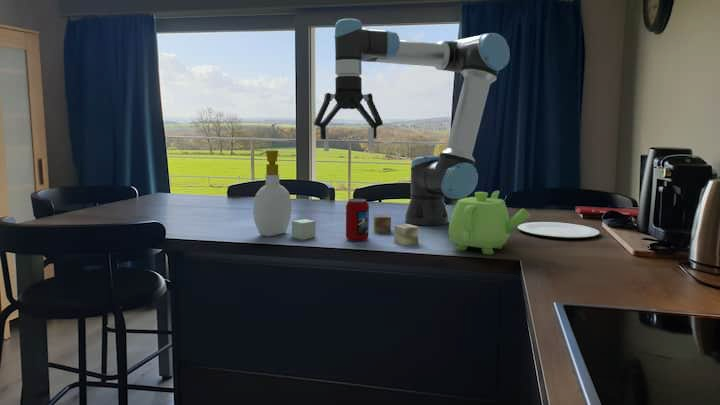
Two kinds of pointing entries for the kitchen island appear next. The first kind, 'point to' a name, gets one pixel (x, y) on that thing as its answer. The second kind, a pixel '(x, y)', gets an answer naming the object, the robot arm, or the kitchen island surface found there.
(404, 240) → the maple cube
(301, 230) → the sage painted cube
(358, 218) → the beverage can
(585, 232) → the plate
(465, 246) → the teapot
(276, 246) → the kitchen island surface
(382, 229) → the walnut cube
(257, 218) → the soap bottle
